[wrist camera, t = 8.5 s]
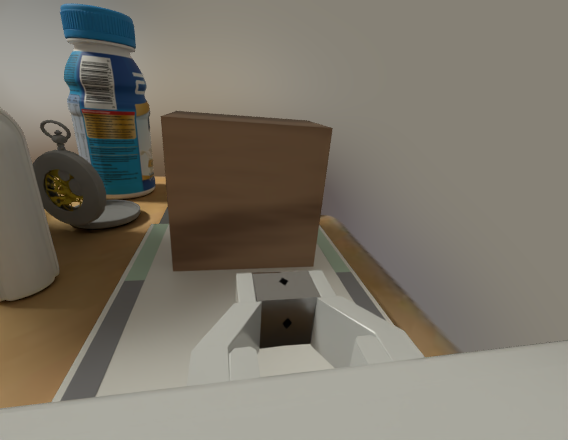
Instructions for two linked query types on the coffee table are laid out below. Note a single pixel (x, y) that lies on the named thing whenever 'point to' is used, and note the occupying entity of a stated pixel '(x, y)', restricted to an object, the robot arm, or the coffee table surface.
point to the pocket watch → (77, 189)
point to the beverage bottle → (108, 99)
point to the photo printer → (22, 220)
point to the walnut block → (243, 190)
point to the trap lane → (184, 321)
